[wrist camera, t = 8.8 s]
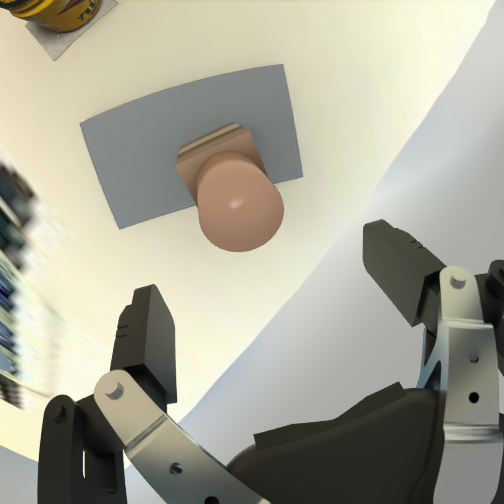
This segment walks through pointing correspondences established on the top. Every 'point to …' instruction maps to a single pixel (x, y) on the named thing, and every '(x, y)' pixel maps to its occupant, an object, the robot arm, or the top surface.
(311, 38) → the top surface
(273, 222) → the pink cylinder
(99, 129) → the board
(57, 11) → the condiment
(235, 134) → the block top
